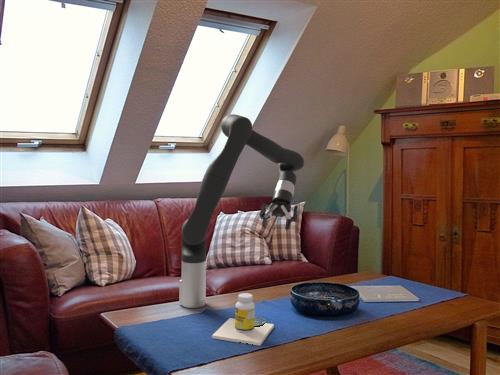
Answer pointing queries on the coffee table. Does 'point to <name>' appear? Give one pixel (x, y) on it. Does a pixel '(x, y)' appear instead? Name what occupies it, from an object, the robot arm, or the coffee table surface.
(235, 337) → the cream tile
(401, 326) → the coffee table surface
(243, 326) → the pill bottle
